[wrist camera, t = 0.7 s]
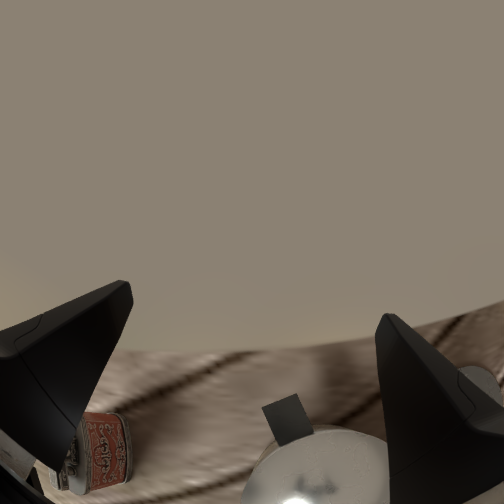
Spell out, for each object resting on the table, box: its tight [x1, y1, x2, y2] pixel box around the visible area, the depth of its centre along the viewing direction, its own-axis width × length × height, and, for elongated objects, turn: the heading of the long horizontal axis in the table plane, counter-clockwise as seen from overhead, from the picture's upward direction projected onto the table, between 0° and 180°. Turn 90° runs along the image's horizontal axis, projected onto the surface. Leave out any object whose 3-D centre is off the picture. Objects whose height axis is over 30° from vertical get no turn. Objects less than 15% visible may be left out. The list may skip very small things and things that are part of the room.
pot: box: [241, 393, 390, 504], centre depth 13 cm, size 17×11×7 cm, turn 22°
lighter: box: [48, 412, 132, 495], centre depth 14 cm, size 8×3×10 cm, turn 3°
